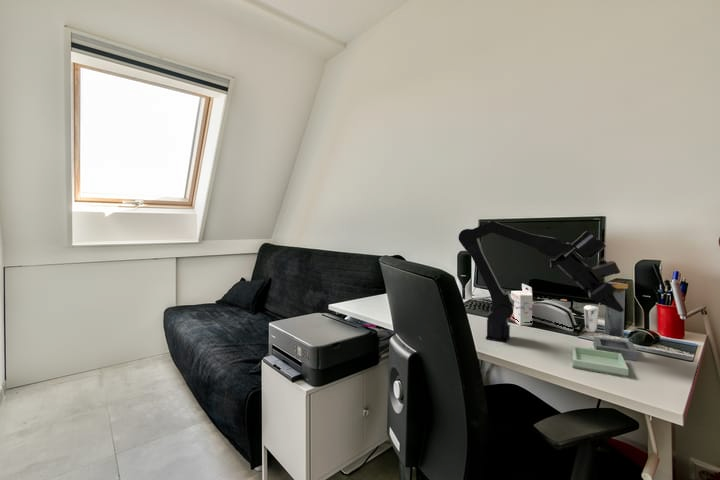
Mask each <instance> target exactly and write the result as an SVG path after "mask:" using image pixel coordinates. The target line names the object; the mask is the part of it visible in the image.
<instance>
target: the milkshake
mask: <svg viewBox="0 0 720 480" xmlns="http://www.w3.org/2000/svg"><path fill="white" fill-rule="evenodd" d="M600 306H601V304H600V303H598V306H594V305H590V304H588V305H585V306H583V314H584V316H583V317H584V329H585V331H587V332H591V333H596V332H597V329H598V322H599V321H598V320H599V313H600Z"/></svg>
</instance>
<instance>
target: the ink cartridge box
mask: <svg viewBox="0 0 720 480" xmlns="http://www.w3.org/2000/svg"><path fill="white" fill-rule="evenodd" d="M521 289H522V290H511V291H510V296H511V298H512V299H513V300H514V310H513V314H512V316H513V317H514V318H515V319H517V320H518V321H519V322H518V321H517V320H515V319H513V318H512V317H510V320H511V321H513V322H515V323H516V324H518V325H519V326H533V320H532V304H533V288H532V286H529V285H527V284H525V283H521ZM530 321H532V323H524V322H530Z"/></svg>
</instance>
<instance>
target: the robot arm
mask: <svg viewBox="0 0 720 480" xmlns="http://www.w3.org/2000/svg"><path fill="white" fill-rule="evenodd" d="M490 234H495V235H499V236H500V237H501V236H502V237H504V238H507V239H510V240H513V241H515V242H518V243H520V244H521V243H522V244H524V245H526V246H529V247H531V248H533V249H535V250H536V251H538V252H540V253H542V254H544V255H545V256H547V257H556V258H555V259H552V258H551V259H549V263H550V264H549V266H550V268H551V269H552V270H553V269H554V268H555V267H558V268H559V269H560V270H562V272H564V273H565V274H566V275H567V276H569V278H571V280H573V282H575V283H576V284H577V285H578V286H580V288H581V289H582V290H583V291H584V292H585V293H588V297H589V298H590V299H591V300H592V301H593V302H594V303H595V304H597V303H598V304H599V303H600V305H602V306H604V307H605V306H607V307H610V308H612V309H614V310H616V311H619V312H622V311H624V312H625V308H624V309H623V308H622V306H621V305H620V304H619V302H618V301H617V300H616V298H615V297H614V296H613V291H614V290H615V288H614V287H613V286H612V285H611V284H610V283H608V282H609V281H605V278H606V277H608V276H612V275H617V274H620V273H621V270H620V269H619V266H618V264H617V262H616V261H614V260H609V261H606V260H605V259H600V260H597V265H595V266H593V267H591V266H590V265H588V264H586V263H585V262H584V261H583V260H585V259H589V260H591V259H593V258H594V257H595V256H596V255H597V254H599V253H601V251H602V250H604V249H605V248H607V246H606V244H605V243H604V242H602V241H601V240H600V239H599V238H597V237H596V236H594V235H593V234H592V233H590V232H588V231H584V232H583V233H582V234H581V235H580V236H579V237H578V238H576V239H575V240H574V241H573V242H572V243H570V242H564V241H561V240H559V239H557V238H556V237H551V236H546V235H539V234H533V233H529V232H527V231H524V230H521V229H517V228H515V227H512V226H509V225H505V224H503V223H500V222H497V221H495V220H490V221H487V222H486V223H484V224H482V225H479V226H476V227H474V228H464V229H463V230H461V231H460V232H459V234H458V241H459V243H460V244H461V246H462V247H463V248H464V250H465V251H466V252H467V253H468V254H469V255H470V257H471V258H472V260H473V262H474V265H475V267H476V268H477V271H478V272H479V275H480V276H481V279H482V280H483V282H484V284H485V286H486V289H487V290H488V292H489V295H490V299H491V300H490V301H491V304H492V308H491V309H490V310H489V311H488V314H487V319H486V336H485V339H486V340H491V341H496V342H497V341H498V342H503V343H507V342H508V340H510V337H511V325H510V324H509V318H511V316H512V314H513V310H514V300H513V299H512V298H511V292H510V291H509V290H507V291H506V292H505V291H504V290H503V289H502V287H501V285H500V284H499V282H498V279H497V277H496V275H495V274H494V271H493V269H492V267H491V266H490V263H489V262H488V260H487V257H486V256H485V253H484V251H483V247H482V244H481V241H480V240H481V239H480V238H483V237H486V236H487V235H490ZM565 252H567V253H565ZM563 253H565V254H563ZM575 253H576V254H577V255H578V256H579V257H578V256H577V255H576V254H575ZM580 258H581V259H583V260H581V259H580Z"/></svg>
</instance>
